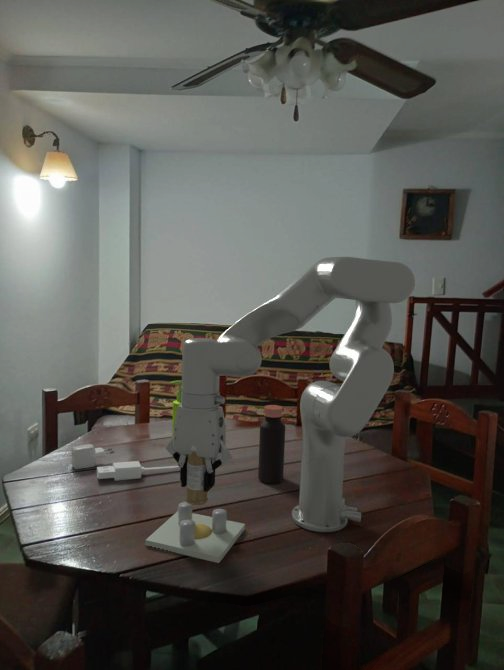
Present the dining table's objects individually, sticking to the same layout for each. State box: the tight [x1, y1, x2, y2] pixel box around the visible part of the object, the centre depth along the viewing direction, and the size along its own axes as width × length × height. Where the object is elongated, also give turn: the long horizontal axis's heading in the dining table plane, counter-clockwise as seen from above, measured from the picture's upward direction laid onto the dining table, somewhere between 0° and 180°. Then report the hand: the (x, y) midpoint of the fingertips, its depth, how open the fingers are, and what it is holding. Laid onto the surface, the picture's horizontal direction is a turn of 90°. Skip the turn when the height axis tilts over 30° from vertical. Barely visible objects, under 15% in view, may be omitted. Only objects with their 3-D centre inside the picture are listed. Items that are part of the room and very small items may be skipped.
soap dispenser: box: [169, 379, 182, 440], centre depth 163 cm, size 6×7×20 cm
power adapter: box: [71, 443, 115, 470], centre depth 141 cm, size 11×5×6 cm, turn 121°
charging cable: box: [96, 460, 180, 482], centre depth 137 cm, size 5×32×3 cm, turn 112°
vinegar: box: [257, 404, 286, 485], centre depth 134 cm, size 7×7×20 cm
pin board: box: [145, 501, 246, 564], centre depth 104 cm, size 16×14×5 cm
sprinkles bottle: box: [185, 446, 208, 506], centre depth 102 cm, size 5×5×13 cm
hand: (197, 486), depth 103 cm, fingers closed on sprinkles bottle, 4 cm apart
